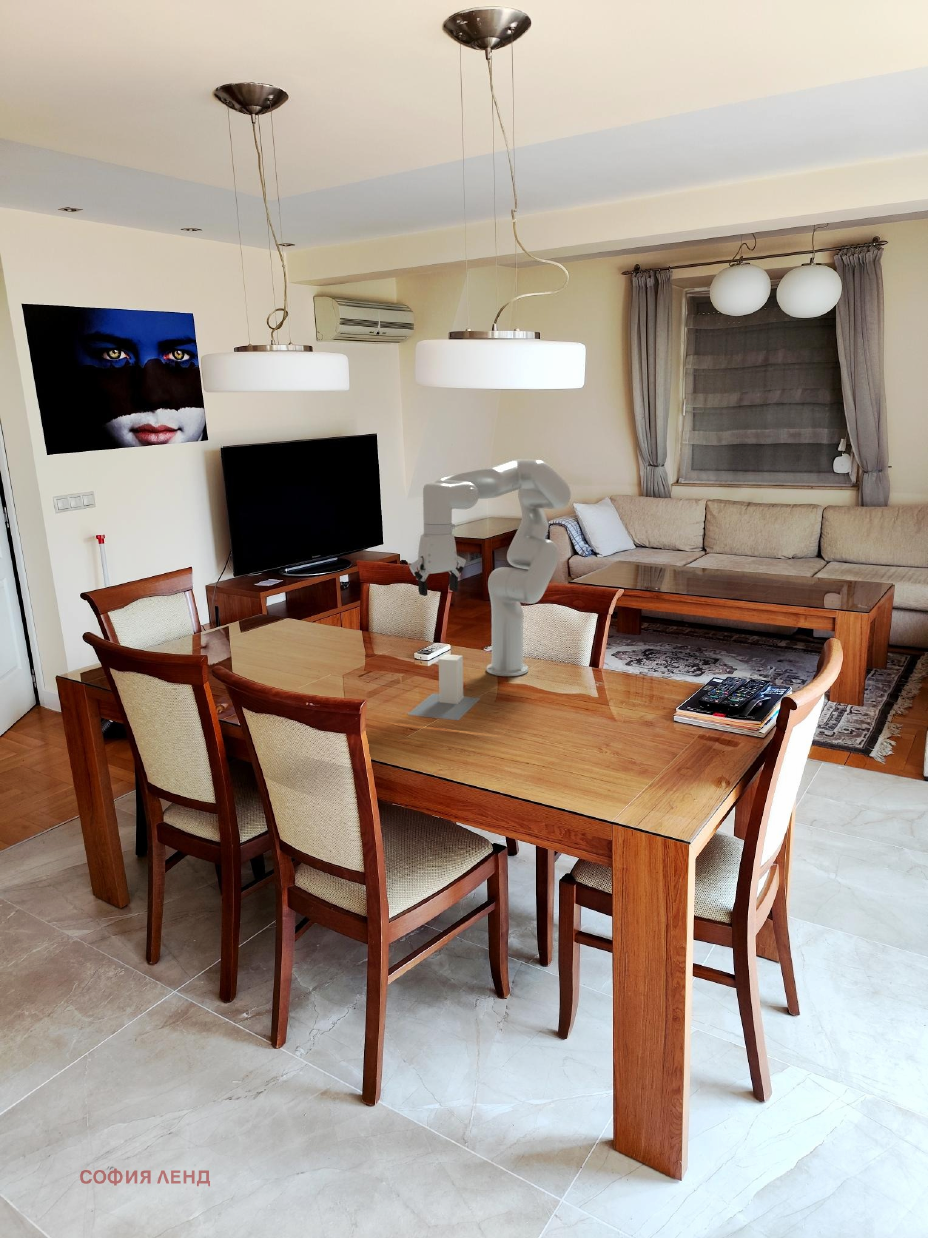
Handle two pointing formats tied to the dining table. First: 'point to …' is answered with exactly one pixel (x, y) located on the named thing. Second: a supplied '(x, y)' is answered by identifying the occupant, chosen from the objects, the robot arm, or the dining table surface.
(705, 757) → the dining table surface
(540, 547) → the robot arm
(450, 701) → the letter block
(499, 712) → the dining table surface
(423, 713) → the mat
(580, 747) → the dining table surface
